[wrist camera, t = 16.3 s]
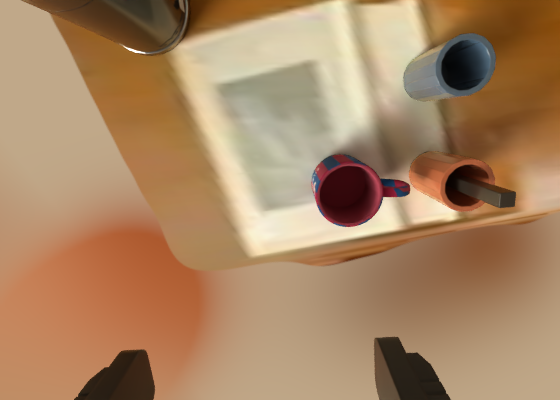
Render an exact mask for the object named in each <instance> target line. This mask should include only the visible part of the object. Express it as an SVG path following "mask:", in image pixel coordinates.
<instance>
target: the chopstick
mask: <svg viewBox="0 0 560 400" xmlns="http://www.w3.org/2000/svg"><path fill="white" fill-rule="evenodd" d="M445 185H446V186H448V187H450V188H453V189H455V190H457V191H460V192H462V193H465V194H467V195H469V196H472V197H474V198H477V199H479V200H481V201H484V202H486V203H489V204H491V205H493V206H496V207H498V208H505V207H514V206H515V198H516V192H514V191H511V190H508V189H505V188H501V187H498V186H495V185H492V184H489V183H486V182H482V181H479V180H476V179H473V178H470V177H467V176H463V175H460V174H457V173H454V172H452V173H451V174H450V175H449V176H448V179H447V181H446V183H445Z"/></svg>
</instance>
